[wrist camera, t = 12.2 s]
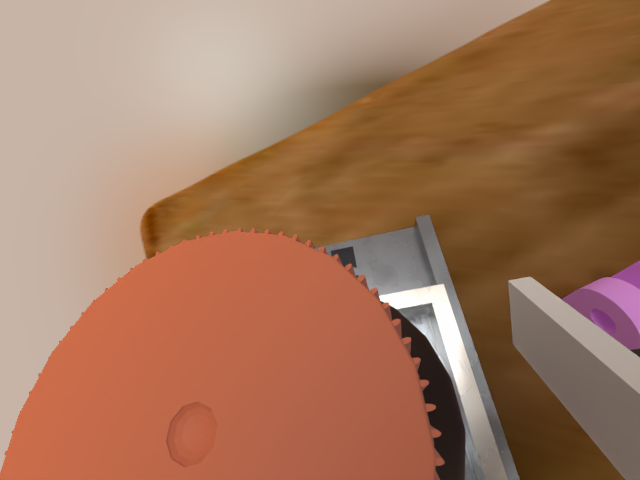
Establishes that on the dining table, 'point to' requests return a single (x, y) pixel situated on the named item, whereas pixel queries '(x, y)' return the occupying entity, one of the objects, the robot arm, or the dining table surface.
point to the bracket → (613, 305)
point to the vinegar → (240, 376)
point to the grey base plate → (435, 330)
